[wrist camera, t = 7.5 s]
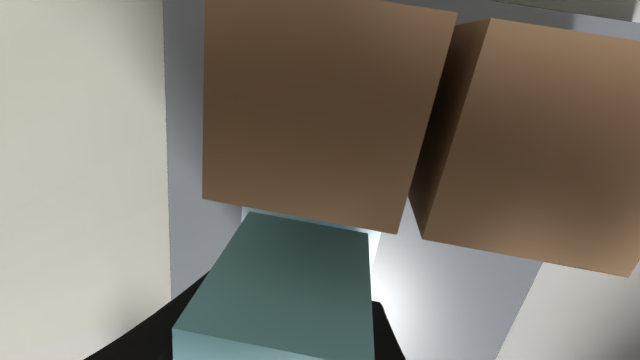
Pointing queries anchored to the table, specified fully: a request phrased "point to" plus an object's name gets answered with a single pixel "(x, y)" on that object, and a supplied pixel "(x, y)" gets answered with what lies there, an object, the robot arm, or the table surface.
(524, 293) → the baseplate
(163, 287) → the table surface
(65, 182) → the table surface
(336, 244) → the teal block
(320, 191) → the walnut blocks
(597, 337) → the table surface
